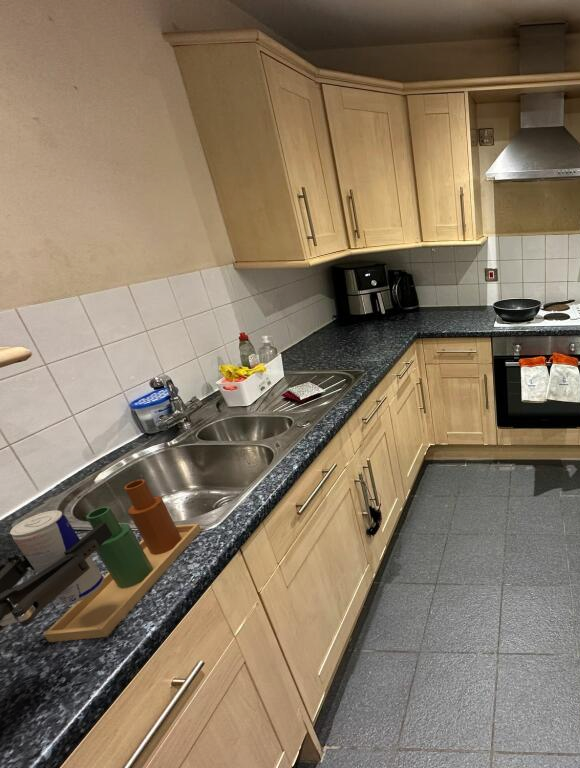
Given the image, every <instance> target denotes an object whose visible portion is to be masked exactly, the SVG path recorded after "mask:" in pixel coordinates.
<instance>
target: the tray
mask: <svg viewBox="0 0 580 768" xmlns="http://www.w3.org/2000/svg"><path fill="white" fill-rule="evenodd" d="M175 526H176V528H177V530H178V532H179V534H180V536H181V538H182V539H181V541H180V542H179V543H178V544H177V545H176V546H175V547H174V548H173V549H172V550H170V551H168V552H165V553H162V554H157V555H153V554H151V553H150V551H149V549H148V547H147V546H146V544H145V542H144V540H143V539H142V540H141V541H139V543H140V545H141V547H142V549H143V551H144V553H145V554H146V556H147V558H148V560H149V562H150V563H151V565H152V567H153V571H152V572H151V573H150V574H149V575H148V576H147V577H146V578H145V579H144V580H143V581H142V582H141V583H139V584H137V585H135V586H132V587H129V588H119V587H118V586H117V585H116V583H115V581H114V580H113V578H112V576H111V575H110V573H109V572H107V573H106V574H105V575H103V577H104V582H103V584H102V585H101V587H100V588H99V589H98V590H97V591H96V592H94V593H93V594H92V595H90V596H89V597H87V598H85V599H83V600H81V601H78V602H76V603H74V604H73V605H72V606H71V607H70V608H69V609H68V610H67V611H66V612H65V613H64V614H63V615H62V616H61V617H60V618H59V619H58V620H57V621H56V622H54V624H52V626H50V627H49V628H48V629H47V630H46V631H45V632H44V633H43V636H44V638H45V640H46V641H47V642H48V643H55V642H64V641H67V642H68V641H77V640H78V641H79V640H86V639H97V638H98V639H100V638H107V637H108V636H109V635H110V634H111V633H112V631H114V629H115V628H116V627H117V626H118V625H119V624H120V623H121V621H122V620H123V619H124V618H125V617H126V616H127V615H128V614H129V613H130V611H131V610H132V609H133V608H134V607H135V606H136V605H137V604H138V602H139V601H140V600H141V599H142V598H143V597H144V596H145V595H146V594H147V592H148V591H149V590H150V589H151V588H152V587H153V585H154V584H155V583H157V581H158V580H159V579H160V578H161V577H162V575H164V573H165V572H166V571H167V570H168V569H169V568H170V566H171V565H172V564H174V562H175V561H176V560H177V559H178V558H179V557H180V556H181V554H182V553H183V552H185V550H186V549H187V548H188V546H190V545H191V543H192V542H193V541H194V540H195V539H196V538H197V537H198V535H199V534H200V533H201V532H202V531H203V530H202V527H201V525H200V523H190V524H177V525H176V524H175Z"/></svg>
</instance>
